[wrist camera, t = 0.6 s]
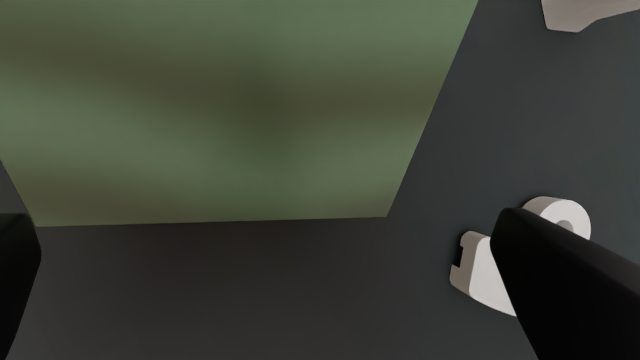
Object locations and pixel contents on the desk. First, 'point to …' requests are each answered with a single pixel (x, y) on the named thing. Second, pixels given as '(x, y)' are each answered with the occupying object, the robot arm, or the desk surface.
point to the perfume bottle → (582, 12)
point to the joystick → (479, 265)
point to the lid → (217, 105)
